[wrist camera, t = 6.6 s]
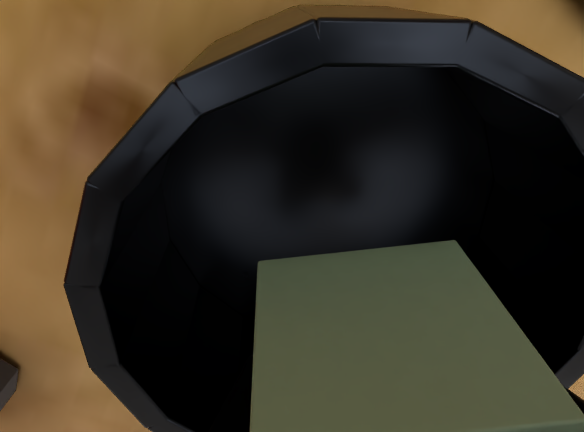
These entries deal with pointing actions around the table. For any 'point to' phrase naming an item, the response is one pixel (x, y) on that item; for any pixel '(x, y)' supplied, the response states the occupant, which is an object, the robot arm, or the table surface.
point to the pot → (325, 191)
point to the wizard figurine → (7, 382)
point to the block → (395, 348)
